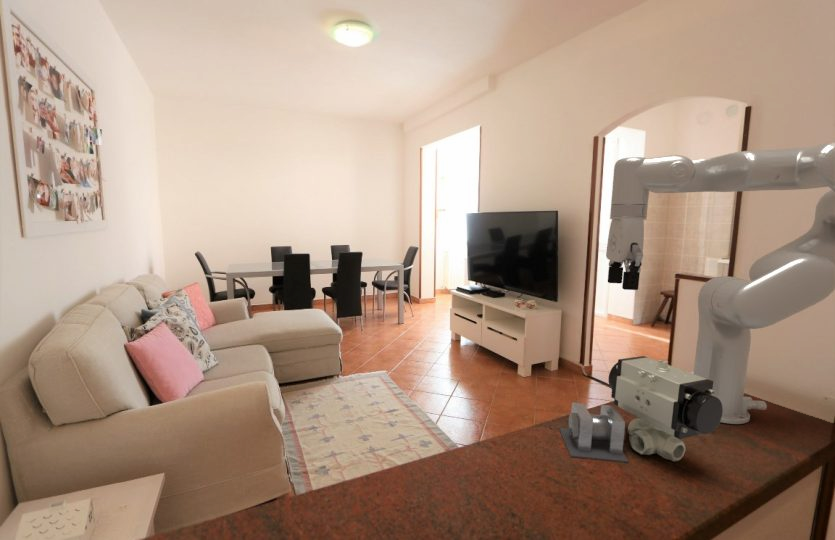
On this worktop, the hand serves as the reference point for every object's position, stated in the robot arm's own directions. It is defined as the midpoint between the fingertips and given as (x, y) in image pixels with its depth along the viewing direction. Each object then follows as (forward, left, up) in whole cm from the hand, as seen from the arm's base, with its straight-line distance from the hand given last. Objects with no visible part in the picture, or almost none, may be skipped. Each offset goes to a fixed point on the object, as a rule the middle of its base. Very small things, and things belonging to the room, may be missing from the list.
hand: (621, 286), depth 94 cm
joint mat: (+11, +22, -28) cm, 37 cm away
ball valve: (0, +22, -28) cm, 36 cm away
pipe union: (+10, +22, -28) cm, 37 cm away
